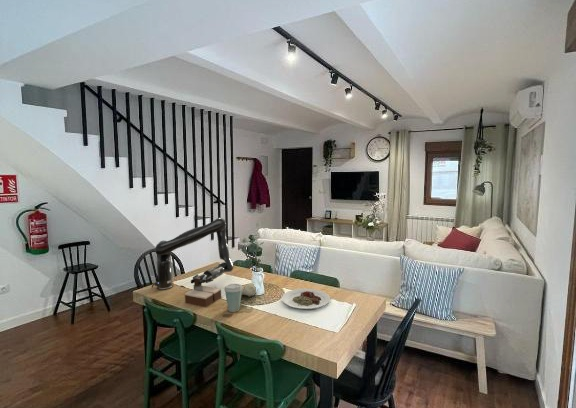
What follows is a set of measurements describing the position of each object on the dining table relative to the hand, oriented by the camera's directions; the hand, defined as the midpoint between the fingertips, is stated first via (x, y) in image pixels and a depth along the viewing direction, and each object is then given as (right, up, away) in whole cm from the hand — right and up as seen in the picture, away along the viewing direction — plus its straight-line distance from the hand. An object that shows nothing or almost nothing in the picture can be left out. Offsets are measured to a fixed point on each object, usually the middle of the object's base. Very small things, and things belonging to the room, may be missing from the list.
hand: (194, 282), depth 197 cm
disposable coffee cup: (+27, -13, -13) cm, 33 cm away
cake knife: (+1, -12, +4) cm, 12 cm away
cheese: (+35, -10, +11) cm, 38 cm away
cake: (+5, -12, +2) cm, 13 cm away
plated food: (+70, -11, -2) cm, 71 cm away
